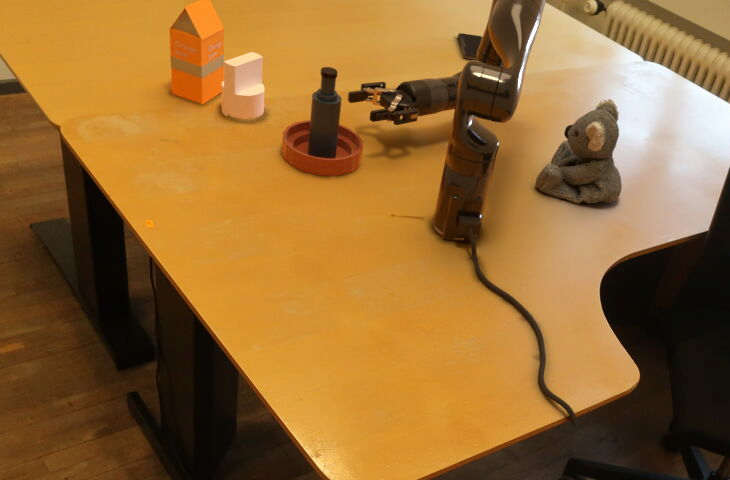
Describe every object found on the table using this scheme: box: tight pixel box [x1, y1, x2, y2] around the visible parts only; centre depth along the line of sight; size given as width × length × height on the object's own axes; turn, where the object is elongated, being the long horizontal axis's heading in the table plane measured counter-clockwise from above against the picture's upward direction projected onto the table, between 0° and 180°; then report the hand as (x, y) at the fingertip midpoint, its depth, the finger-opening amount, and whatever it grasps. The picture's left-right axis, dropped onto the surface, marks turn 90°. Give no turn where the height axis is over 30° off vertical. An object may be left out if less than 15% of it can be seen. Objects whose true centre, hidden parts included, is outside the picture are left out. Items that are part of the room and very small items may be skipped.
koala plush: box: [535, 98, 623, 204], centre depth 180 cm, size 17×18×20 cm
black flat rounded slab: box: [457, 32, 483, 61], centre depth 235 cm, size 8×1×15 cm
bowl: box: [281, 120, 364, 177], centre depth 173 cm, size 16×16×4 cm
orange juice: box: [169, 0, 225, 105], centre depth 180 cm, size 8×9×20 cm
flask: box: [308, 66, 342, 158], centre depth 168 cm, size 6×6×18 cm
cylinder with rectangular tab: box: [221, 51, 266, 120], centre depth 180 cm, size 9×9×12 cm
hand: (359, 107), depth 173 cm, fingers open, 8 cm apart
